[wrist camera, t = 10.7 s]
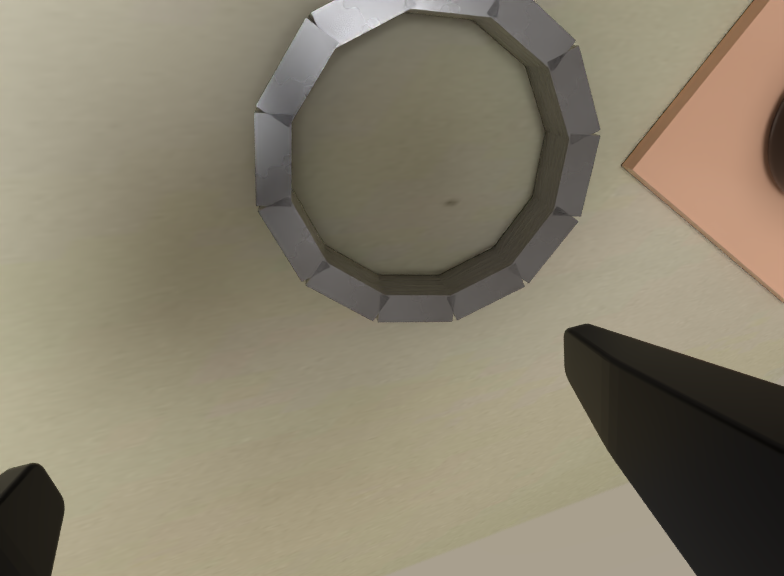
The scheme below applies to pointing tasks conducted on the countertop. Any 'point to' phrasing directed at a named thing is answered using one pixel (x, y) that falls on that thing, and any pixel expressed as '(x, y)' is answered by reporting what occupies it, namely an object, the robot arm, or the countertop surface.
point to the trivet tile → (726, 147)
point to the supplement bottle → (777, 147)
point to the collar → (528, 231)
